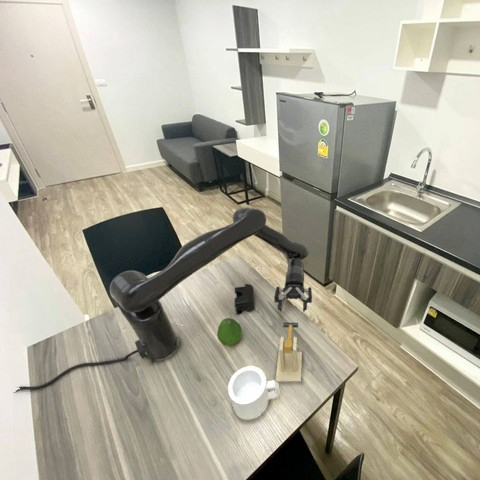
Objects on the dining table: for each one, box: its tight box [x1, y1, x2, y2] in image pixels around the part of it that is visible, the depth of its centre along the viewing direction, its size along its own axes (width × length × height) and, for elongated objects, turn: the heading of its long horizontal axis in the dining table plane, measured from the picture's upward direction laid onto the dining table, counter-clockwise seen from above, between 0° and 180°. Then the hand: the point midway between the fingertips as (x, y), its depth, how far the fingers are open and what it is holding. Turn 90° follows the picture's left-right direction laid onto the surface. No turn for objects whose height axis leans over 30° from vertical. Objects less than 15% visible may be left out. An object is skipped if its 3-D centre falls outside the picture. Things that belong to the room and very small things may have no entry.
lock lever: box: [282, 322, 299, 353], centre depth 85 cm, size 12×5×2 cm, turn 1°
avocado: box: [216, 317, 243, 347], centre depth 91 cm, size 8×8×12 cm
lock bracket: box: [274, 336, 303, 382], centre depth 83 cm, size 10×8×14 cm
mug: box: [227, 365, 281, 421], centre depth 76 cm, size 14×10×11 cm
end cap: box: [234, 283, 255, 315], centre depth 106 cm, size 10×7×7 cm
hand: (292, 310), depth 96 cm, fingers open, 8 cm apart
